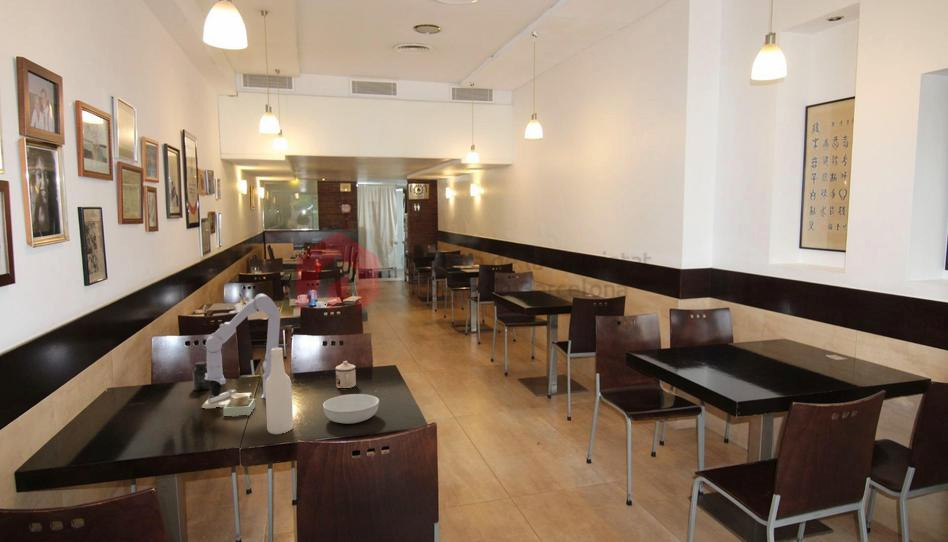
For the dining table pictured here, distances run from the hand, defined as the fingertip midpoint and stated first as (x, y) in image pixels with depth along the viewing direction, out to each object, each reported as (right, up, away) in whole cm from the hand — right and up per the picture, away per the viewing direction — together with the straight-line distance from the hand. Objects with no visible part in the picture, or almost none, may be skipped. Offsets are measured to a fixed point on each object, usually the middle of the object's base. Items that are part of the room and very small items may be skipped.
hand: (216, 397), depth 229 cm
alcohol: (+37, -5, -30) cm, 48 cm away
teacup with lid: (+49, 0, +20) cm, 53 cm away
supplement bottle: (-16, -1, +20) cm, 25 cm away
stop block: (+14, -3, -10) cm, 18 cm away
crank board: (+4, -2, +2) cm, 5 cm away
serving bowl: (+61, -4, -19) cm, 64 cm away
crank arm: (+2, -1, +1) cm, 3 cm away
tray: (+14, -3, -11) cm, 18 cm away
